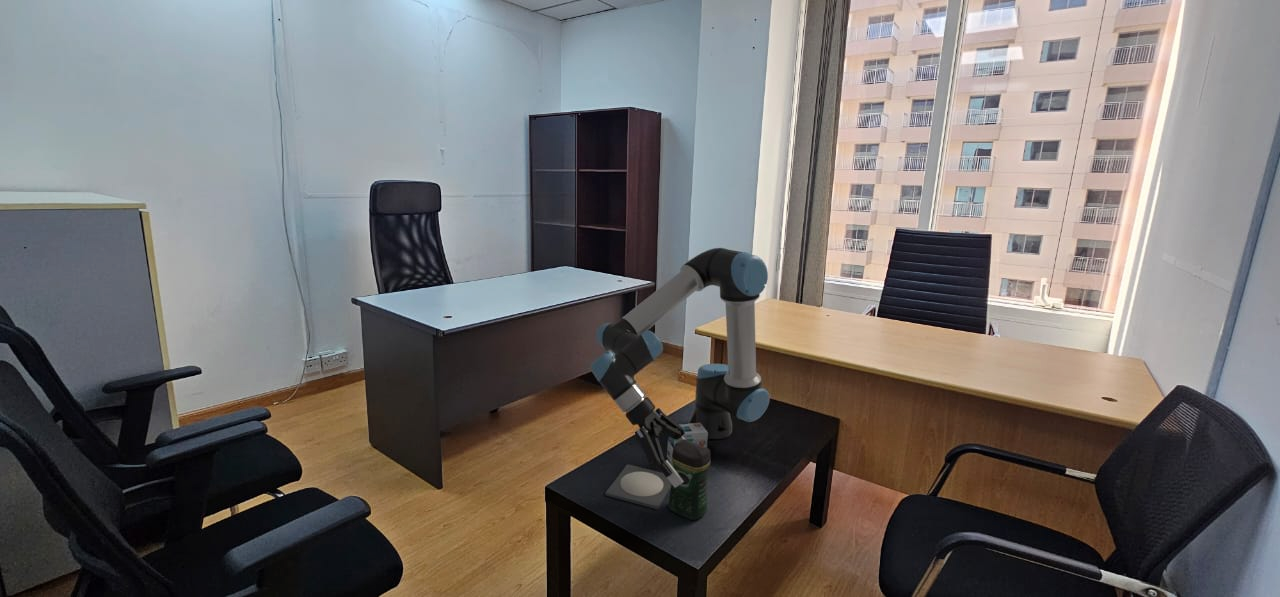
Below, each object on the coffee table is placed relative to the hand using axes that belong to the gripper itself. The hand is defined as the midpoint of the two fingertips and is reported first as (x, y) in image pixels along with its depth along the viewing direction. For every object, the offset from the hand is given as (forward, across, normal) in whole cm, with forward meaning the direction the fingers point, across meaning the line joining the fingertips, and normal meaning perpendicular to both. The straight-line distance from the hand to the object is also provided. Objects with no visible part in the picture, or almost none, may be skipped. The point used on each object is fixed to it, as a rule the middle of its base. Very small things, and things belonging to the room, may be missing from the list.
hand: (687, 471), depth 135 cm
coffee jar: (+9, -1, -8) cm, 12 cm away
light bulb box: (+4, -25, -13) cm, 28 cm away
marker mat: (-2, -6, -18) cm, 19 cm away
